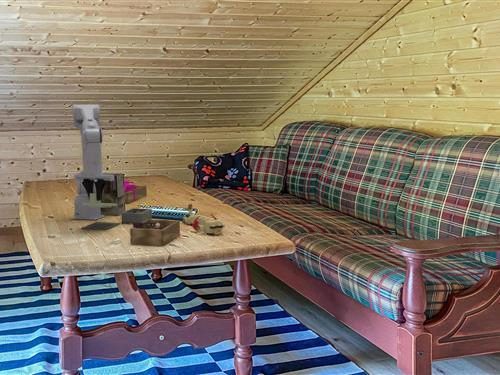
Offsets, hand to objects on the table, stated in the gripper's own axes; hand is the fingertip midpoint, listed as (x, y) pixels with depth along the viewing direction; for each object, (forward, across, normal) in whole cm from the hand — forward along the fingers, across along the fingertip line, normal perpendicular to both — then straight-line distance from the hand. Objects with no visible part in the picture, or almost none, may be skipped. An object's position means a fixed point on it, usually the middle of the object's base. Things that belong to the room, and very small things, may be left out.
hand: (95, 200), depth 220 cm
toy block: (+10, -16, +60) cm, 62 cm away
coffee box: (+11, -7, +28) cm, 30 cm away
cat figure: (+11, +38, +8) cm, 40 cm away
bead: (+10, +9, +17) cm, 22 cm away
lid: (+2, 0, +4) cm, 4 cm away
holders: (+10, +5, +26) cm, 28 cm away
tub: (+10, +9, +16) cm, 21 cm away
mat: (+10, 0, +4) cm, 11 cm away
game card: (+11, +26, -14) cm, 31 cm away
